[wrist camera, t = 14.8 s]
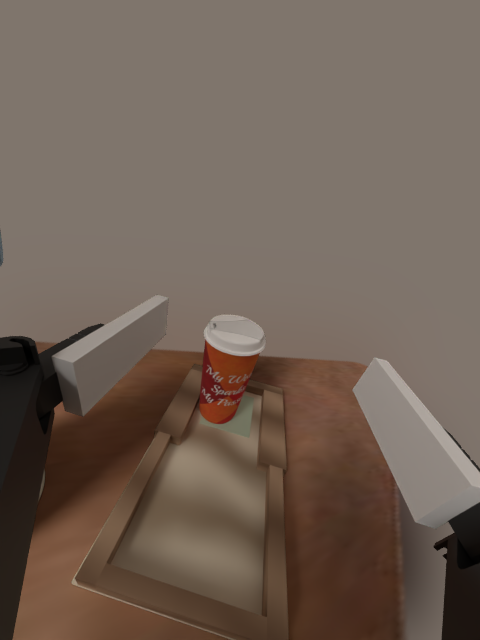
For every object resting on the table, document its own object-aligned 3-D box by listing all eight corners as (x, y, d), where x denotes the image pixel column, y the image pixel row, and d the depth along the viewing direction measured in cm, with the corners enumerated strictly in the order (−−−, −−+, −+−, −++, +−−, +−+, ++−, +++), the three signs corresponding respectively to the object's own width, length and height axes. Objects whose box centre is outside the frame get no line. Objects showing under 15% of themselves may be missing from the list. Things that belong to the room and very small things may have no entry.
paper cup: (191, 433, 26) (207, 343, 19) (191, 387, 32) (203, 309, 26) (249, 429, 28) (279, 347, 22) (237, 387, 34) (258, 315, 28)
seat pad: (249, 438, 27) (249, 437, 27) (199, 423, 27) (199, 422, 27) (253, 398, 33) (253, 398, 33) (213, 386, 33) (213, 386, 33)
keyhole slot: (286, 658, 14) (296, 654, 13) (72, 584, 14) (67, 575, 14) (278, 396, 35) (282, 388, 34) (192, 372, 36) (194, 363, 35)
